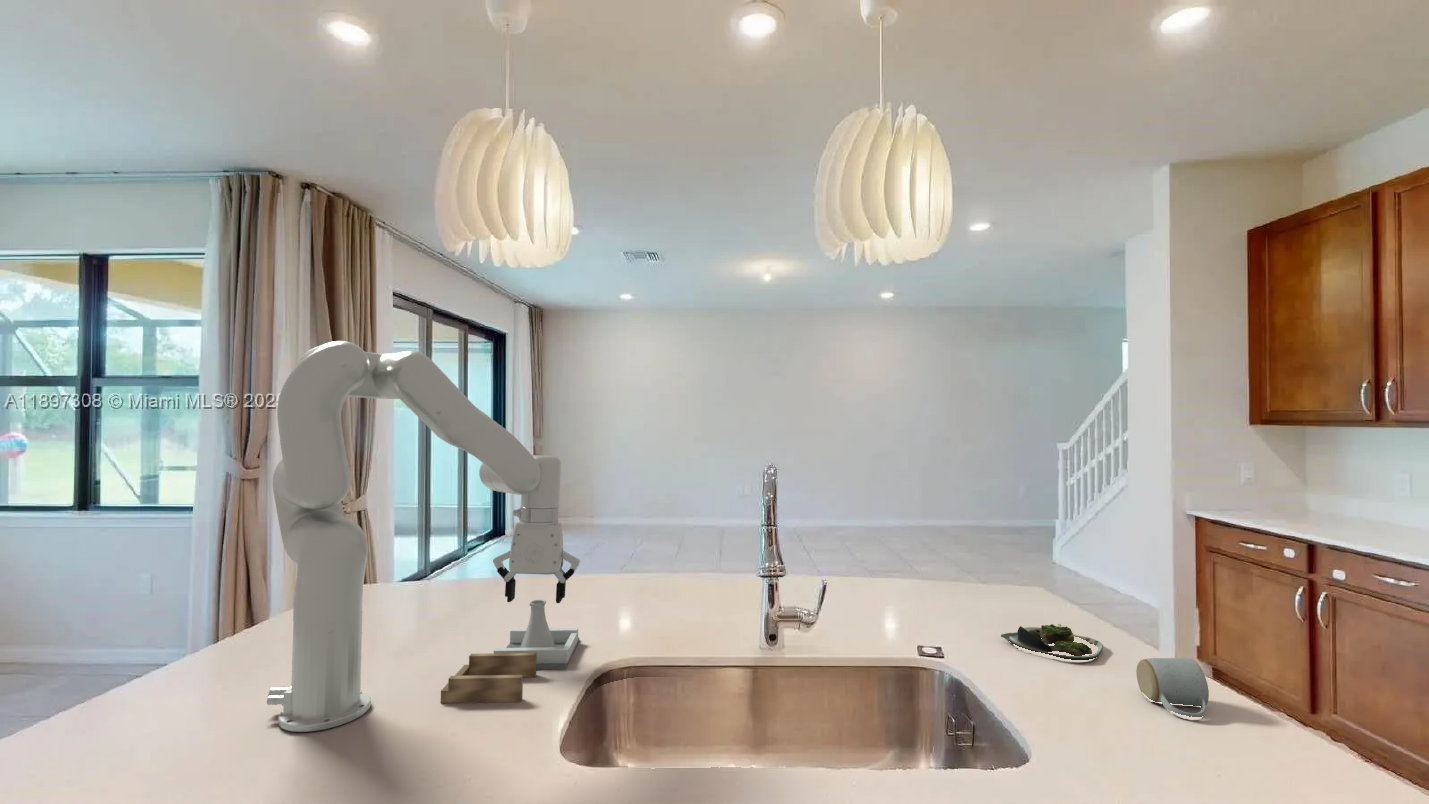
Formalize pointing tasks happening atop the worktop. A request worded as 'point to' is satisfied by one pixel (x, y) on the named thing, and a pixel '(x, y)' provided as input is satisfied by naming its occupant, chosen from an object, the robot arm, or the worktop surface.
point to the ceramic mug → (1174, 683)
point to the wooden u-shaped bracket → (490, 678)
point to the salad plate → (1053, 641)
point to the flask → (537, 628)
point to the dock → (549, 655)
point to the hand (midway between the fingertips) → (534, 601)
